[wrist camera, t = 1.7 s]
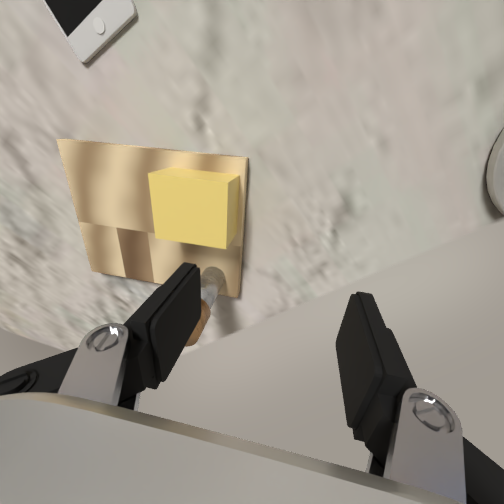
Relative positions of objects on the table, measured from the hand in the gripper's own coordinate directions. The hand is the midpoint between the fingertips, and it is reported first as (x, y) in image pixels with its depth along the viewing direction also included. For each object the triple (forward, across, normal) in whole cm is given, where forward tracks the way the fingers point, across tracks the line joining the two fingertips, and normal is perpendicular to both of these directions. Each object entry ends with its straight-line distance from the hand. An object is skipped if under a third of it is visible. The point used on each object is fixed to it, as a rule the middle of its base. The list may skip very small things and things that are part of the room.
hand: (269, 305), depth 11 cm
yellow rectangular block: (+14, +8, 0) cm, 17 cm away
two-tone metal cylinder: (+14, +8, +9) cm, 19 cm away
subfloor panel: (+16, +14, +4) cm, 22 cm away
